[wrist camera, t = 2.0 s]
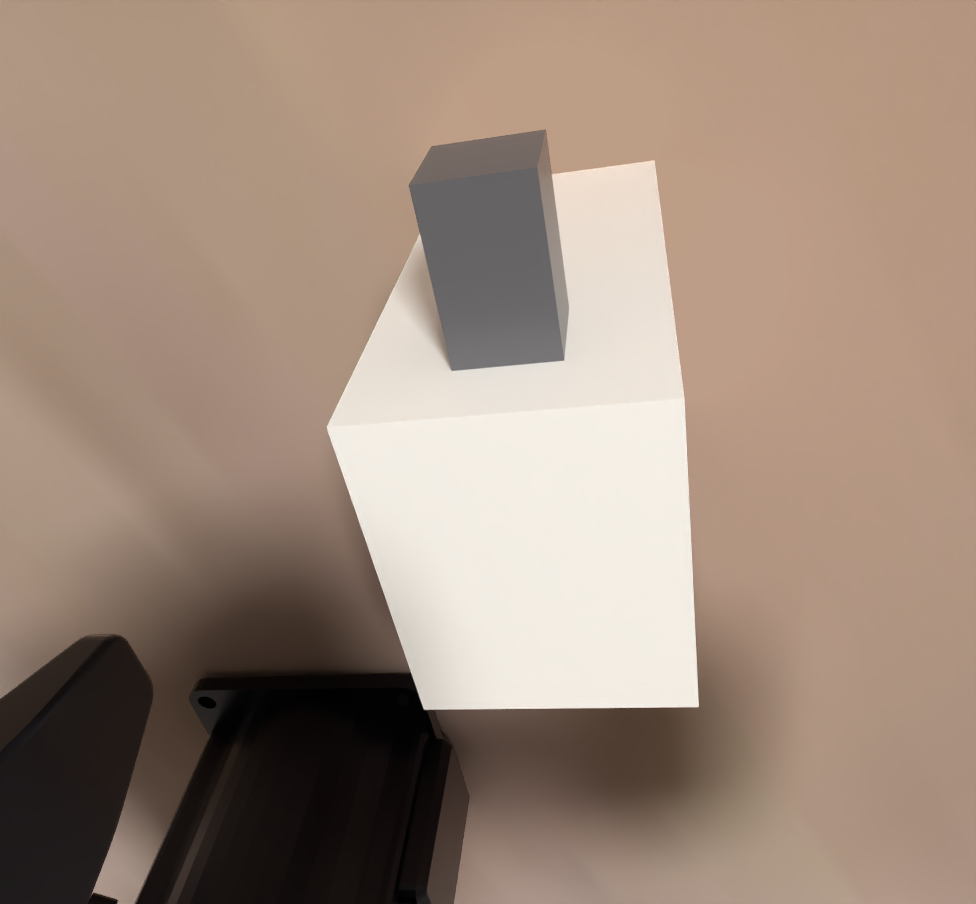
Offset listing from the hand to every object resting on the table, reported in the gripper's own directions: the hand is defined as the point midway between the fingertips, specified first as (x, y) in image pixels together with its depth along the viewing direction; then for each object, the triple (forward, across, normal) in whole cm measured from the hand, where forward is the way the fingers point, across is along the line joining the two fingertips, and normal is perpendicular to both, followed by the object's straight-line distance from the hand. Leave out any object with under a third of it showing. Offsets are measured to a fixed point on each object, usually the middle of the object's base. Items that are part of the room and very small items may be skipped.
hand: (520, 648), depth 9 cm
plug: (+8, 0, 0) cm, 8 cm away
